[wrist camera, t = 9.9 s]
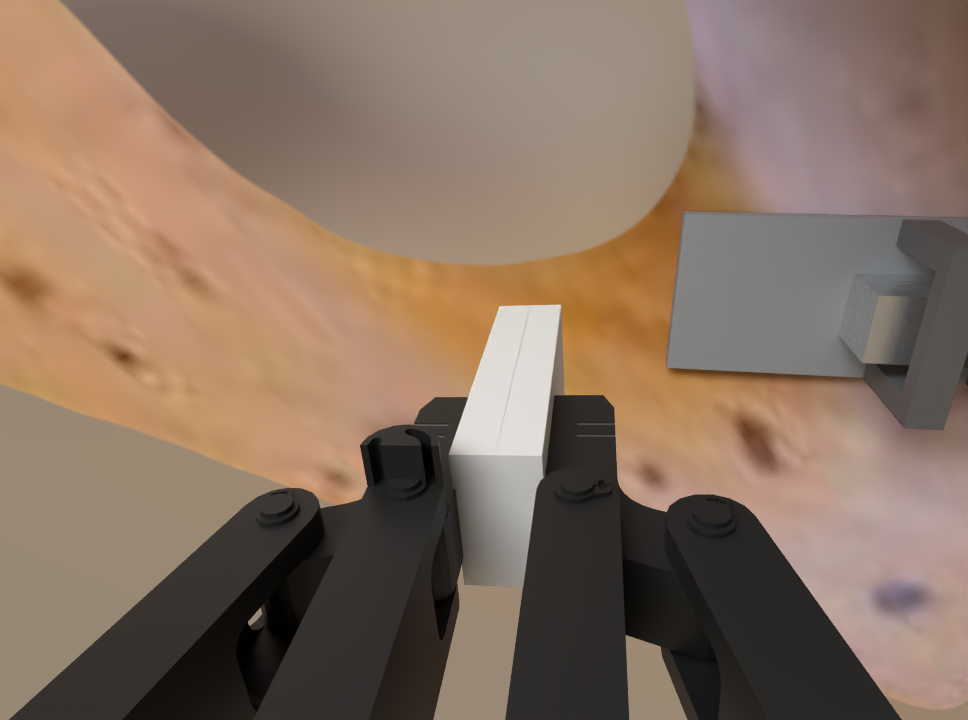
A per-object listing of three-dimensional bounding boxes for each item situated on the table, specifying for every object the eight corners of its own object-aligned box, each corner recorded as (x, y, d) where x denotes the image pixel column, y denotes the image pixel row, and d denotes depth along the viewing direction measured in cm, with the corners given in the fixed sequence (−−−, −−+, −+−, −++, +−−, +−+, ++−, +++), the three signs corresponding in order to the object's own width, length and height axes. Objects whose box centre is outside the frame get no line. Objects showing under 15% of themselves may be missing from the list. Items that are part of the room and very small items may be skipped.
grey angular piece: (683, 211, 41) (700, 242, 35) (1086, 220, 39) (1184, 256, 32) (665, 362, 46) (678, 414, 39) (1028, 380, 43) (1104, 439, 37)
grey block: (838, 335, 42) (862, 362, 39) (853, 272, 41) (879, 295, 37) (1015, 343, 41) (1056, 372, 38) (1037, 279, 40) (1082, 303, 36)
